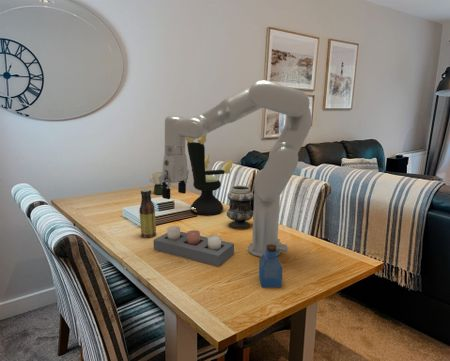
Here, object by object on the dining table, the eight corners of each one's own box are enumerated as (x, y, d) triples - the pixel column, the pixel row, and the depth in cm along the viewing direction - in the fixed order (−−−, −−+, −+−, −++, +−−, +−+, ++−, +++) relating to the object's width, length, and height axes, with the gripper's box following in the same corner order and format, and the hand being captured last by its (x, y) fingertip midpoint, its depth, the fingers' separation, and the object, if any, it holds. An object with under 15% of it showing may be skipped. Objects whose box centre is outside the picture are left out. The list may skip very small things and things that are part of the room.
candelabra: (232, 211, 177) (234, 123, 167) (201, 221, 161) (201, 124, 151) (207, 203, 190) (207, 121, 180) (176, 212, 174) (174, 122, 164)
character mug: (165, 191, 214) (165, 171, 211) (169, 194, 208) (169, 173, 205) (148, 193, 209) (147, 172, 206) (152, 196, 203) (151, 174, 200)
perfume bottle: (277, 277, 111) (279, 242, 108) (281, 287, 105) (283, 250, 102) (258, 277, 111) (260, 242, 108) (261, 287, 105) (262, 250, 102)
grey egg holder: (234, 253, 128) (234, 243, 127) (218, 266, 117) (218, 255, 116) (172, 238, 140) (172, 229, 139) (153, 249, 130) (153, 239, 129)
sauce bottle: (149, 231, 148) (148, 186, 144) (159, 235, 144) (158, 189, 140) (137, 235, 143) (135, 189, 139) (146, 239, 139) (144, 192, 135)
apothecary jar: (256, 223, 159) (258, 186, 155) (246, 232, 149) (247, 192, 145) (233, 219, 165) (234, 183, 161) (221, 227, 154) (222, 188, 150)
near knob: (223, 248, 125) (223, 236, 124) (217, 253, 121) (217, 241, 120) (212, 246, 127) (212, 234, 126) (205, 250, 123) (205, 238, 122)
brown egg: (202, 243, 129) (202, 231, 128) (195, 248, 125) (195, 236, 124) (191, 241, 131) (191, 229, 130) (184, 245, 127) (184, 233, 126)
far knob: (182, 239, 133) (182, 227, 132) (175, 243, 129) (175, 231, 128) (172, 236, 135) (172, 225, 134) (165, 241, 131) (164, 229, 130)
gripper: (168, 154, 116) (168, 202, 120) (196, 149, 131) (195, 192, 135) (151, 151, 120) (151, 199, 123) (180, 147, 134) (179, 189, 138)
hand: (174, 195), depth 129 cm, fingers open, 9 cm apart
